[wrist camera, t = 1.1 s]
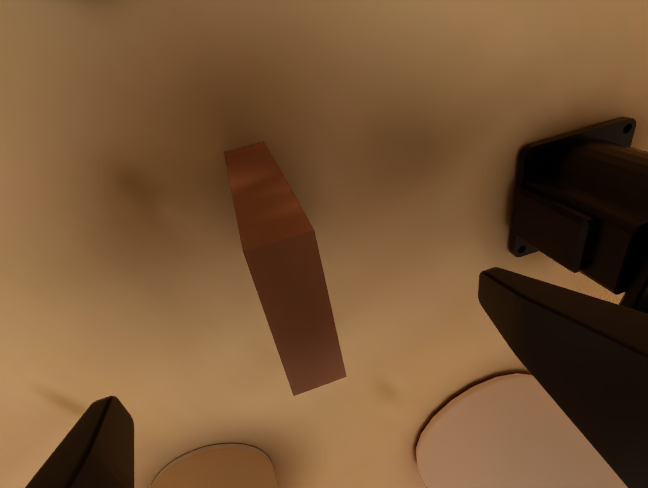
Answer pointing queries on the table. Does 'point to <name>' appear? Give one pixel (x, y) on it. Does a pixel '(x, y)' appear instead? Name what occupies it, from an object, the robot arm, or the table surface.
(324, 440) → the table surface
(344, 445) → the table surface
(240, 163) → the domino
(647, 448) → the robot arm
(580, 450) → the white lidded jar
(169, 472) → the coffee cup
